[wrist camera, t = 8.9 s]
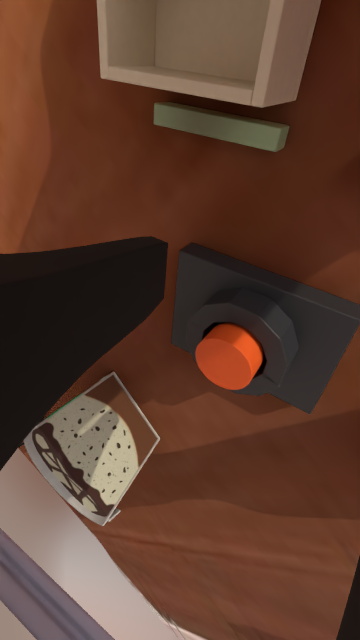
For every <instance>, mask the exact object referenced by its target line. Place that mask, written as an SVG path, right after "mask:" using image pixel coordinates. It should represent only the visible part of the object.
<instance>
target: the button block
mask: <svg viewBox="0 0 360 640" xmlns="http://www.w3.org/2000/svg"><path fill="white" fill-rule="evenodd" d="M222 323H233V324H237V325H239V326H241V327H244V328H246V329H247V330H249V331H250V332H251V333H252V334H253V335H254V336H255V337H256V338H257V340H258V341H259V342H260V344H261V347H262V349H263V362H262V364H261V366H260V367H259V369H258V370H257V372H256V374H255V375H254V377H253V378H252V380H251V381H250V383H249V384H248V385H247V386H246V387H244V388H242V389H238V390H230V389H228V390H230V391H232V392H234V393H238V394H247V395H256V396H261V395H263V394H265V393H269V394H271V395H273V396H275V397H277V398H279V399H281V400H283V401H285V402H287V403H289V404H291V405H293V406H295V407H297V408H299V409H300V410H302V411H304V412H306V413H308V414H311V413H312V411H313V409H314V407H315V405H316V403H317V402H318V400H319V398H320V396H321V394H322V392H323V390H324V389H325V387H326V385H327V383H328V381H329V379H330V378H331V376H332V374H333V372H334V370H335V368H336V367H337V365H338V363H339V361H340V359H341V357H342V355H343V354H344V352H345V350H346V348H347V346H348V344H349V343H350V341H351V339H352V337H353V335H354V333H355V332H356V330H357V328H358V326H359V324H360V305H359V304H356V303H354V302H351V301H348V300H345V299H343V298H340V297H337V296H335V295H332V294H329V293H327V292H324V291H321V290H318V289H316V288H313V287H310V286H308V285H305V284H302V283H299V282H297V281H294V280H291V279H289V278H286V277H283V276H281V275H278V274H275V273H272V272H270V271H267V270H264V269H262V268H259V267H256V266H253V265H251V264H248V263H245V262H243V261H240V260H237V259H235V258H232V257H229V256H226V255H224V254H221V253H218V252H216V251H213V250H210V249H207V248H205V247H202V246H199V245H197V244H194V243H190V244H189V245H187V246H186V247H184V248H183V249H181V250H180V251H179V261H178V272H177V283H176V294H175V305H174V316H173V327H172V338H171V343H172V344H173V345H175V346H177V347H179V348H181V349H183V350H185V351H187V352H189V353H191V354H192V357H193V359H194V361H195V363H196V364H197V361H196V356H195V353H196V348H197V346H198V344H199V343H200V342H201V341H202V340H203V339H204V338H205V337H206V335H207V334H208V333H209V332H210V331H211V330H212V329H213V328H214V327H215V326H217V325H219V324H222ZM197 365H198V364H197Z"/></svg>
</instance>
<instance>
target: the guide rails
mask: <svg viewBox="0 0 360 640" xmlns="http://www.w3.org/2000/svg"><path fill="white" fill-rule="evenodd" d="M154 124H155V125H159V126H163V127H167V128H172V129H176V130H180V131H185V132H189V133H194V134H198V135H202V136H207V137H211V138H215V139H220V140H224V141H228V142H233V143H237V144H242V145H246V146H250V147H255V148H259V149H263V150H268V151H272V152H277V151H279V150H281V149H283V148H284V146H285V142H286V138H287V134H288V130H289V125H285V124H280V123H275V122H270V121H265V120H259V119H254V118H249V117H244V116H239V115H234V114H229V113H224V112H218V111H213V110H208V109H203V108H198V107H193V106H188V105H182V104H177V103H172V102H159V103H154Z"/></svg>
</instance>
